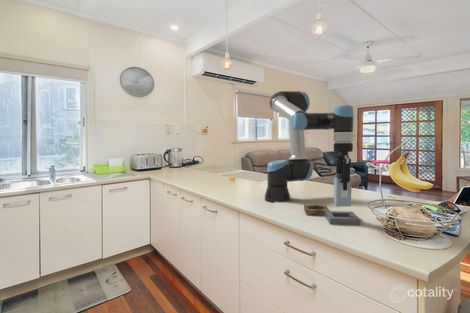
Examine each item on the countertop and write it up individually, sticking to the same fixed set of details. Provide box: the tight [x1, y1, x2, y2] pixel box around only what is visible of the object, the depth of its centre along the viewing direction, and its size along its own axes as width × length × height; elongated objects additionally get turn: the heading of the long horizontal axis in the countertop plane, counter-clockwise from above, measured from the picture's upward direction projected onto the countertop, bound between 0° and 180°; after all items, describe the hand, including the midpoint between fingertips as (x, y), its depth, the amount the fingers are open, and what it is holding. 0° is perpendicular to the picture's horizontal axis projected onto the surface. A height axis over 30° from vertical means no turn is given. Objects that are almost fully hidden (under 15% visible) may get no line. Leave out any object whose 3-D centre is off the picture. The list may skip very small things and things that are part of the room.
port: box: [324, 210, 361, 226], centre depth 107 cm, size 12×10×3 cm
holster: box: [303, 204, 331, 217], centre depth 118 cm, size 10×8×3 cm
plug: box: [333, 173, 352, 208], centre depth 106 cm, size 6×4×14 cm, turn 82°
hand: (342, 195), depth 106 cm, fingers closed on plug, 4 cm apart
